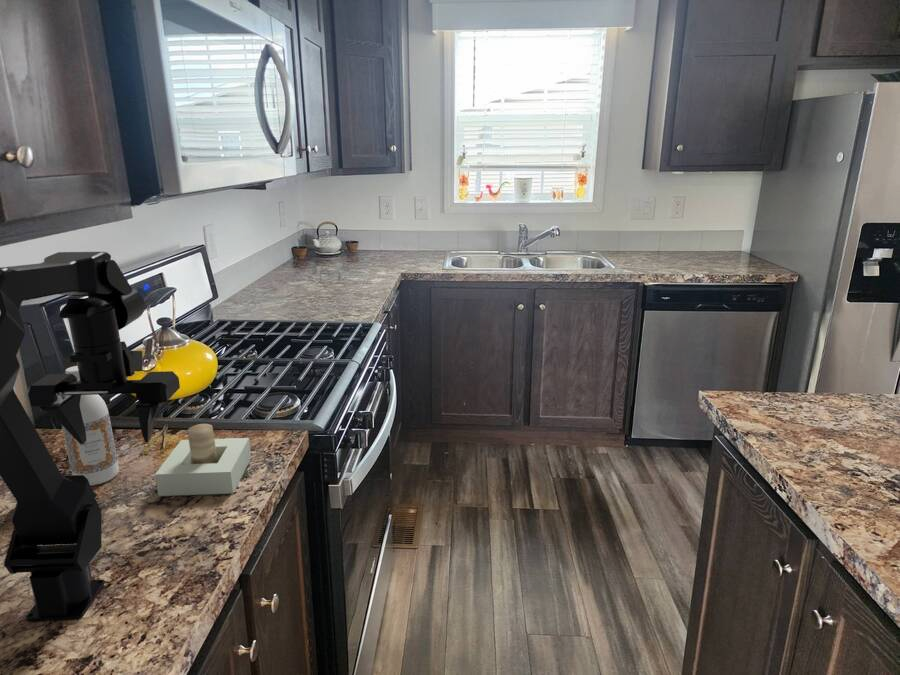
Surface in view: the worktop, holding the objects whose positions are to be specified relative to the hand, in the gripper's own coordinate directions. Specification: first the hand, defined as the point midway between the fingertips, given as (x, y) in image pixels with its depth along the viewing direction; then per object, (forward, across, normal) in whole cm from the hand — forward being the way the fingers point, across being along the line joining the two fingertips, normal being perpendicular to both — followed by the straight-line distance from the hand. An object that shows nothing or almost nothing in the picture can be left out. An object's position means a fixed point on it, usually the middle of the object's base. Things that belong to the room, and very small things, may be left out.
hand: (115, 441), depth 89 cm
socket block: (+13, -8, -12) cm, 19 cm away
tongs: (+14, +6, -27) cm, 31 cm away
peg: (+13, -8, -12) cm, 19 cm away
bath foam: (+13, +11, -13) cm, 22 cm away
